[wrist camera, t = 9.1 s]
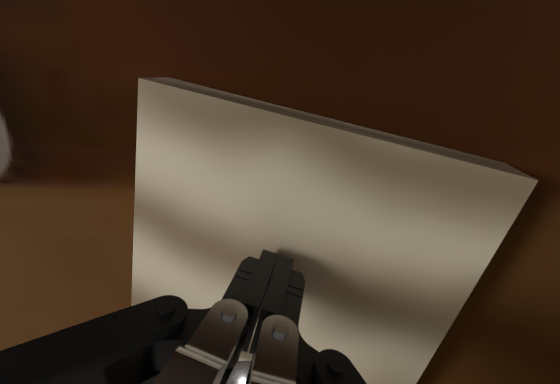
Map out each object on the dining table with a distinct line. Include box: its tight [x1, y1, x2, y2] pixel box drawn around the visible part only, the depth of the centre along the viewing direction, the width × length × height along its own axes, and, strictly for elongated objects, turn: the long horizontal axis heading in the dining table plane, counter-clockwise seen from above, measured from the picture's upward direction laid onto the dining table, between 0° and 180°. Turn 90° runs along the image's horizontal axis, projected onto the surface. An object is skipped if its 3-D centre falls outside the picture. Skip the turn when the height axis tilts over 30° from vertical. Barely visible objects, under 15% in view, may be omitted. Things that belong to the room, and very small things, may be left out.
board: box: [131, 78, 539, 384], centre depth 17 cm, size 22×16×2 cm
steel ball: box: [228, 360, 251, 384], centre depth 19 cm, size 3×3×3 cm
